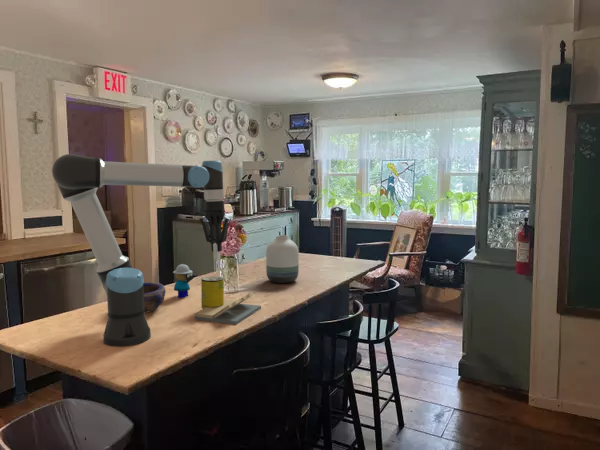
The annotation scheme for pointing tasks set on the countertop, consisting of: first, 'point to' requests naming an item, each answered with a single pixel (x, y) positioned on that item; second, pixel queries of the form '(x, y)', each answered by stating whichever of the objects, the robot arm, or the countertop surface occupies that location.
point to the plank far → (246, 297)
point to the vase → (282, 260)
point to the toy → (183, 280)
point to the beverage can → (212, 291)
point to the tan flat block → (227, 308)
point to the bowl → (153, 296)
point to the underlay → (227, 313)
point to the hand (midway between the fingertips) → (217, 259)
